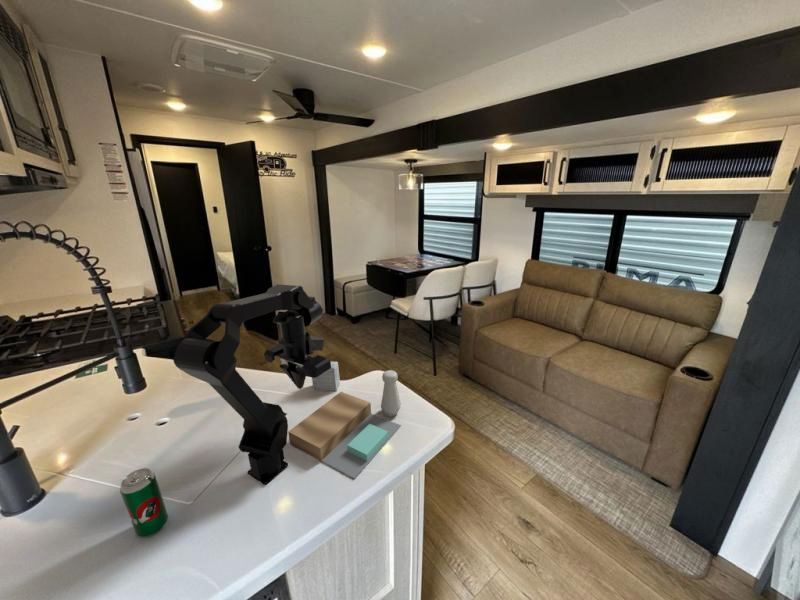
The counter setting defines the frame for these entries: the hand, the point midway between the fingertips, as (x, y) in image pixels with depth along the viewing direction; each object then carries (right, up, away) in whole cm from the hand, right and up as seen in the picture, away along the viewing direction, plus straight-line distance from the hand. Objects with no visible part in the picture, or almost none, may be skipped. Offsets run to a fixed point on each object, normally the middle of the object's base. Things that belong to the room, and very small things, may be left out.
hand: (300, 387), depth 84 cm
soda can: (-21, -20, -23) cm, 37 cm away
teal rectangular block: (+18, -11, -5) cm, 22 cm away
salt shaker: (+24, -10, +9) cm, 27 cm away
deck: (+8, -12, +2) cm, 14 cm away
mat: (+17, -13, -3) cm, 22 cm away
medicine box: (+2, -6, +21) cm, 22 cm away
